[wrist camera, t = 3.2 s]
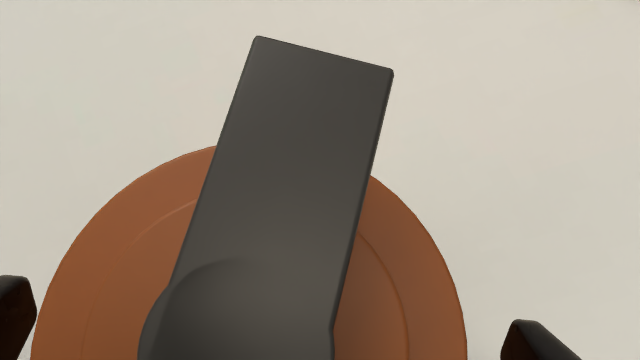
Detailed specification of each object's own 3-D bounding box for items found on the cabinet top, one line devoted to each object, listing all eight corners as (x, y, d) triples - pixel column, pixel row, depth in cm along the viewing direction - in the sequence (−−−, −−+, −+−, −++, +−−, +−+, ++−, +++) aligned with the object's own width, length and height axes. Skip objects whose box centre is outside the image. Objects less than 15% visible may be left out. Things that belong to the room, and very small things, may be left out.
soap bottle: (346, 452, 15) (482, 835, 4) (163, 401, 15) (-213, 622, 4) (390, 248, 17) (566, 110, 6) (227, 205, 17) (92, -10, 6)
